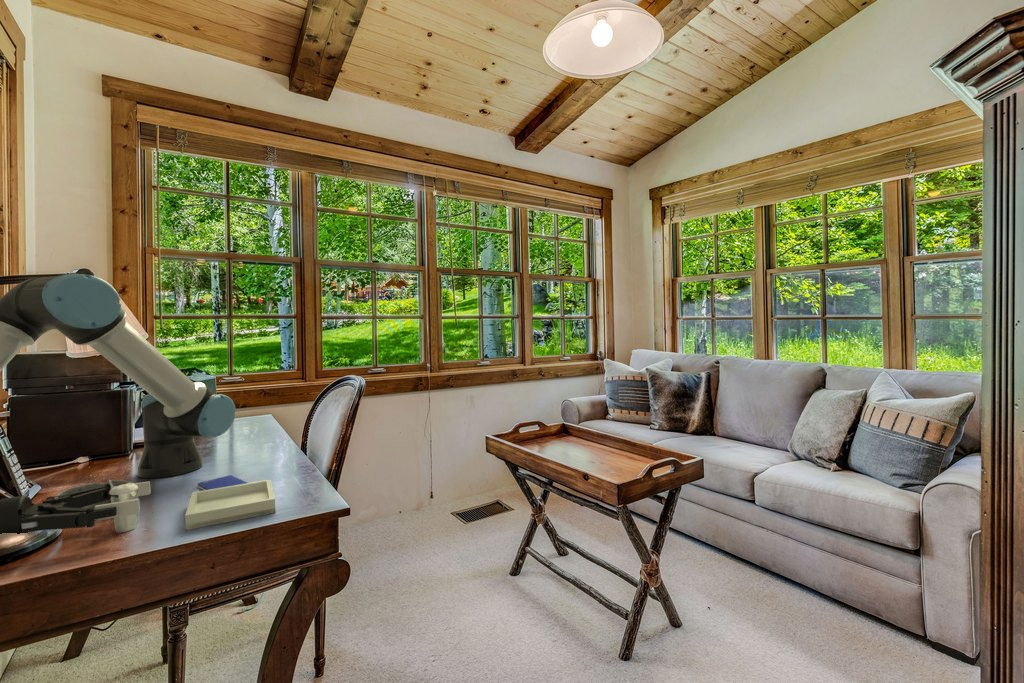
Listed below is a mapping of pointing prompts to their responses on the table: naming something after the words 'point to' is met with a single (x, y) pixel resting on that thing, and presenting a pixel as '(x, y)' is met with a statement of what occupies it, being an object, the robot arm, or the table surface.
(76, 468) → the table surface
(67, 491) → the dish
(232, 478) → the hard drive
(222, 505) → the tray
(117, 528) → the milkshake
